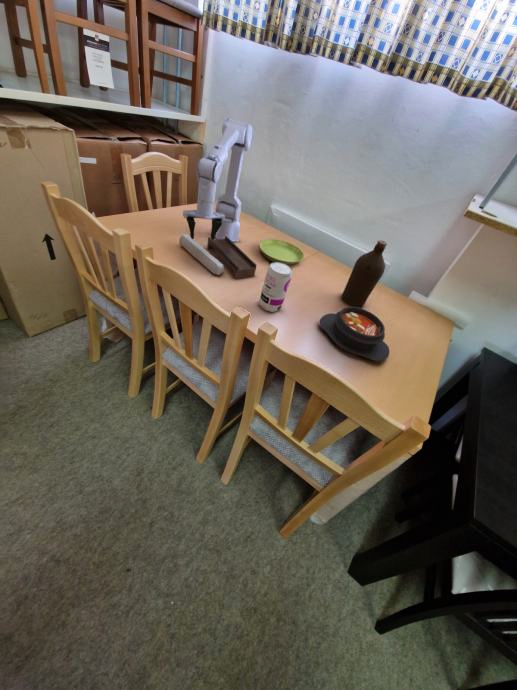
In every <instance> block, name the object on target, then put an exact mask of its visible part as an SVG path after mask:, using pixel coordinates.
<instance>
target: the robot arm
mask: <svg viewBox="0 0 517 690" xmlns="http://www.w3.org/2000/svg"><path fill="white" fill-rule="evenodd" d="M221 133H222V135H221V138H220V140H219V141H218V143H214V144H213V145H212V146H211V148H210V150H209V151H208V152H207V154H206V156H205V157H202V158H199V159H198V161H197V164H196V167H195V168H196V169H195V171H196V181H197V182H196V183H197V184H198V185H197V186H198V187H197V198H196V199H197V200H196V209H189V210H188V209H187V210H186V209H185V210H182V216H183V218H184V219H185V220H186V222H187V225H188V229H189V236H190V237H191V239H193V240H194V238H195V227H196V220H195V219H203V220H211V230H210V238H211V239H212V240H215V238H216V240H217V239H225V236H227V237H228V238H229V239H230V240H231V241H232V242H233V243H234V242H235V243H236V242H239V241H240V239H239V237H240V230H241V224H240V223H241V222H240V217H241V214H242V201H241V200H240V199H239V198H238V196H237V194H238V189H239V185H240V184H239V182H240V178H241V171H242V167H243V161H244V156H245V152H249V151H250V149H251V144H252V139H253V134H254V133H253V127H252V124H249V123H246V122H242V121H238V120H235V119H232V118H230V117H226V118H225V119H224V120H223V123H222V127H221ZM230 150H231V154H230V160H229V165H228V172H227V177H226V184H225V189H224V190H225V191H224V193H223V194H221V195H220V196H219V197H218V198H217V202H216V204H215V200H216V190H217V182H218V181H220V178H221V174H222V171H223V166H224V165H225V163H226V161H227V160H228V158H229V151H230ZM214 207H215V208H214ZM214 209H215V211H214Z"/></svg>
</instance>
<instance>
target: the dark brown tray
mask: <svg viewBox="0 0 517 690" xmlns="http://www.w3.org/2000/svg"><path fill="white" fill-rule="evenodd" d="M206 247H207V248H206V250H207V251H215V252H216V253H217V254H218V255H219V256H220V257H221V258H222V259H223V260H224V261H225V262H226V263H227V264H228V265H229V266H230V268H231V269H232V270H233V271H234V276H233V279H234V280H242V279H243V280H244V279H247V278H248V279H249V278H254V277H255V274H256V270H257V265H258V264H256V263H255V262H254V261H253V260H252V258H250V257H249V256H248V255H247V254H246V253H245V252H244V251H243V250H242V249H240V247H238V245H237V244H235V243H234V242H232V241H231V240H230V239H229V238H228V237H227V236H225V239H217V238H216V239H214V240H212V239H211V236H209V237H207V245H206Z"/></svg>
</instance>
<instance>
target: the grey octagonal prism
mask: <svg viewBox="0 0 517 690" xmlns="http://www.w3.org/2000/svg"><path fill="white" fill-rule="evenodd" d="M178 244H179V245H180V246H182V247H183V249H185V250H186V251H188V252H189V253H190V254H191V255H192V256H193V257H194V258H195V259H196V260H197V261H199V262H200V263H201V264H202V265H203V266H204V267H205V268H207V270H208V271H210V272H211V273H212V274H214V275H216V276H220V275H221V274H223V272H224V271H225V268H224V264H223V263H222V262H220V261H219V259H217V258H216V257H214V256H213V255H212V254H211V253H210V252H209V251H208V250H207V249H205V248H204V247H203V246H201V245H200V244H199V243H198V242H197V241H195V240H194V239H191V237H190V234H188V233H185V234H181V236H180V237H179V238H178Z"/></svg>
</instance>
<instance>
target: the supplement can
mask: <svg viewBox="0 0 517 690" xmlns="http://www.w3.org/2000/svg"><path fill="white" fill-rule="evenodd" d="M292 272H293V271H292V268H291V266H290V265H286V264H283V263H278V262H271V264H270V265H269V266H268V268H267V269H266V272H265V277H264V281H263V285H262V288H261V293H260V296H259V299H258V305H259V306H260V307H261V308H262V309H263V310H264V311H266V312H270V313H275V312H278V311H280V310H282V308H283V305H284V302H285V299H286V295H287V293H288V290H289V287H290V283H291V280H292V278H293V273H292Z"/></svg>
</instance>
